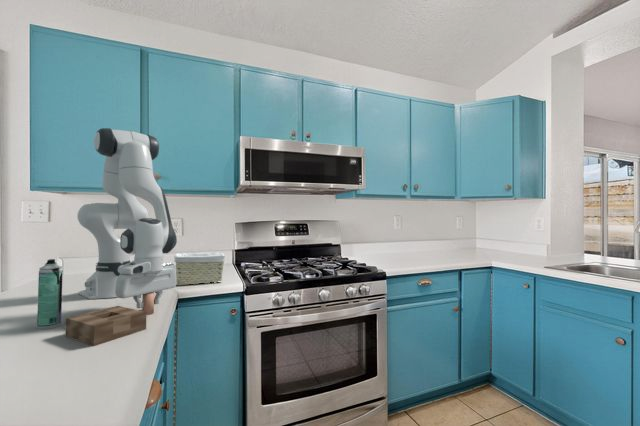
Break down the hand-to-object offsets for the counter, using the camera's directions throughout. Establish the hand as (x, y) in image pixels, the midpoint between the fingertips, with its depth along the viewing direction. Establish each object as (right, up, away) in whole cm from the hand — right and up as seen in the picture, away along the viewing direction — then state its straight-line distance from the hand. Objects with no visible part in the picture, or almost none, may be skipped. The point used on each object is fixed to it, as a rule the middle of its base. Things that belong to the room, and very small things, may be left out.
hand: (148, 305), depth 107 cm
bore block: (-2, -2, -18) cm, 19 cm away
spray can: (-22, -2, -13) cm, 26 cm away
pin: (0, -3, 0) cm, 3 cm away
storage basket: (-3, -4, +55) cm, 55 cm away
